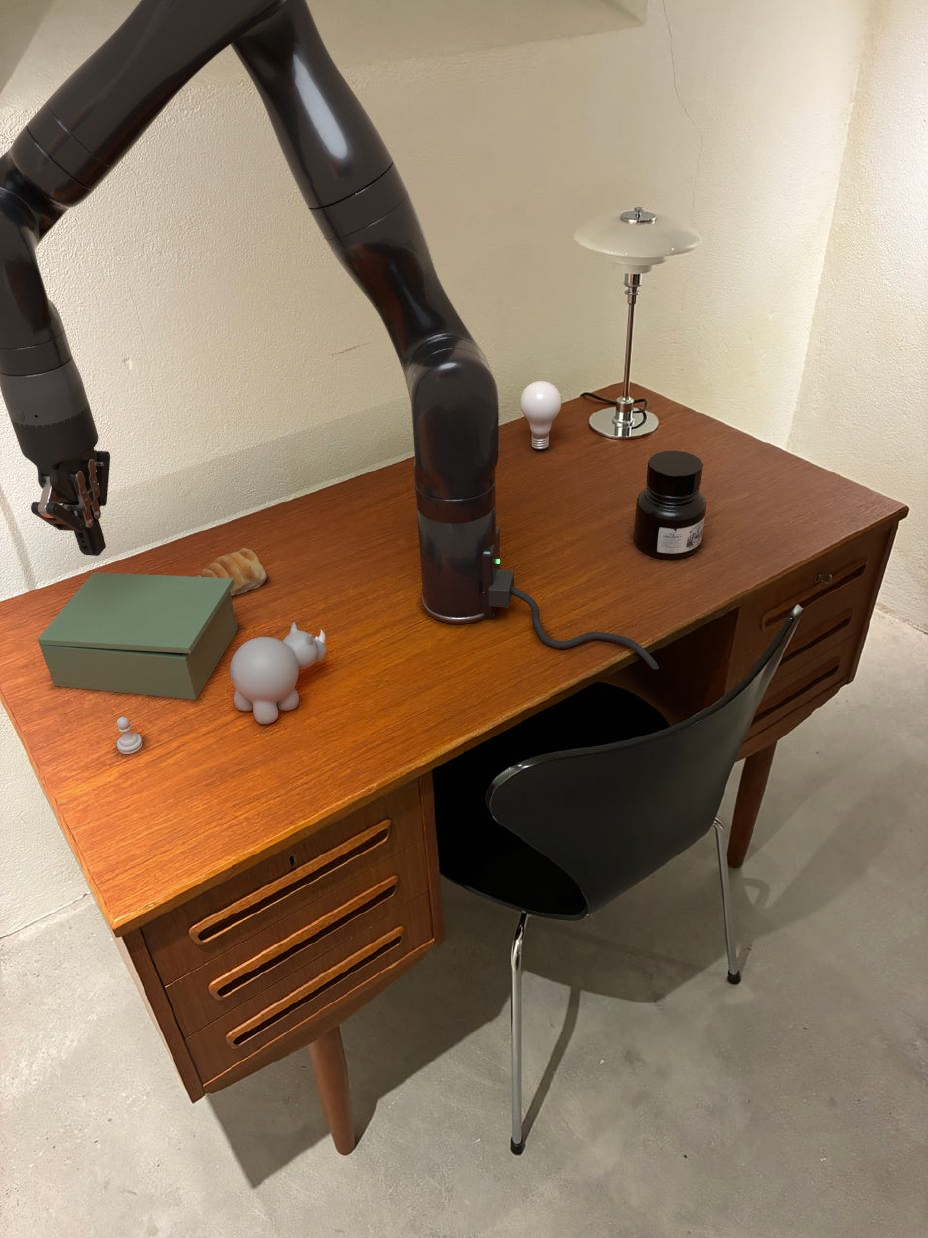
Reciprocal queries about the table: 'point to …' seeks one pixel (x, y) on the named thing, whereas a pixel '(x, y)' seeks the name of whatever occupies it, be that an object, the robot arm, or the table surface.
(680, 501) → the ink bottle
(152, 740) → the table surface
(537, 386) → the lightbulb
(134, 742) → the pawn
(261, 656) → the toy rhinoceros
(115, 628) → the box lid
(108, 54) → the robot arm
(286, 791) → the table surface
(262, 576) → the pastry
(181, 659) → the chess box
